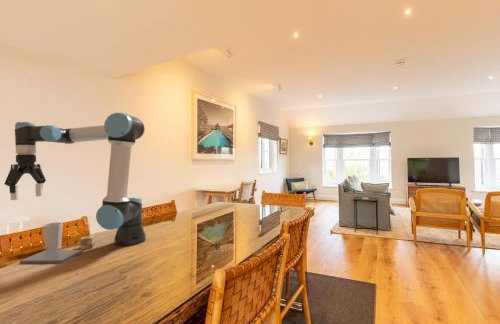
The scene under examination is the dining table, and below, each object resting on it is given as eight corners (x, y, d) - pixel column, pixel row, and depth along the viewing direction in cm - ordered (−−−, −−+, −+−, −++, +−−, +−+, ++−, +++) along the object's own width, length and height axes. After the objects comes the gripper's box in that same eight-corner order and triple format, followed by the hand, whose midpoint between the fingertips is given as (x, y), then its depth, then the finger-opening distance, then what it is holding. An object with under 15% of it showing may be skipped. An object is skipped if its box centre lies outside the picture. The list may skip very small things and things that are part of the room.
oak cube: (94, 245, 134) (94, 235, 134) (92, 248, 129) (92, 238, 129) (83, 246, 132) (83, 236, 132) (80, 249, 128) (80, 239, 128)
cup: (52, 251, 125) (51, 226, 125) (38, 251, 126) (38, 225, 126) (67, 246, 133) (66, 222, 133) (54, 245, 134) (53, 222, 134)
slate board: (82, 252, 123) (82, 250, 123) (62, 263, 110) (61, 260, 110) (45, 252, 123) (45, 250, 123) (20, 263, 110) (20, 260, 110)
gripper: (39, 155, 141) (40, 195, 141) (-8, 153, 116) (-6, 202, 116) (53, 154, 141) (54, 194, 141) (9, 153, 116) (10, 201, 116)
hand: (27, 198), depth 128 cm, fingers open, 13 cm apart
